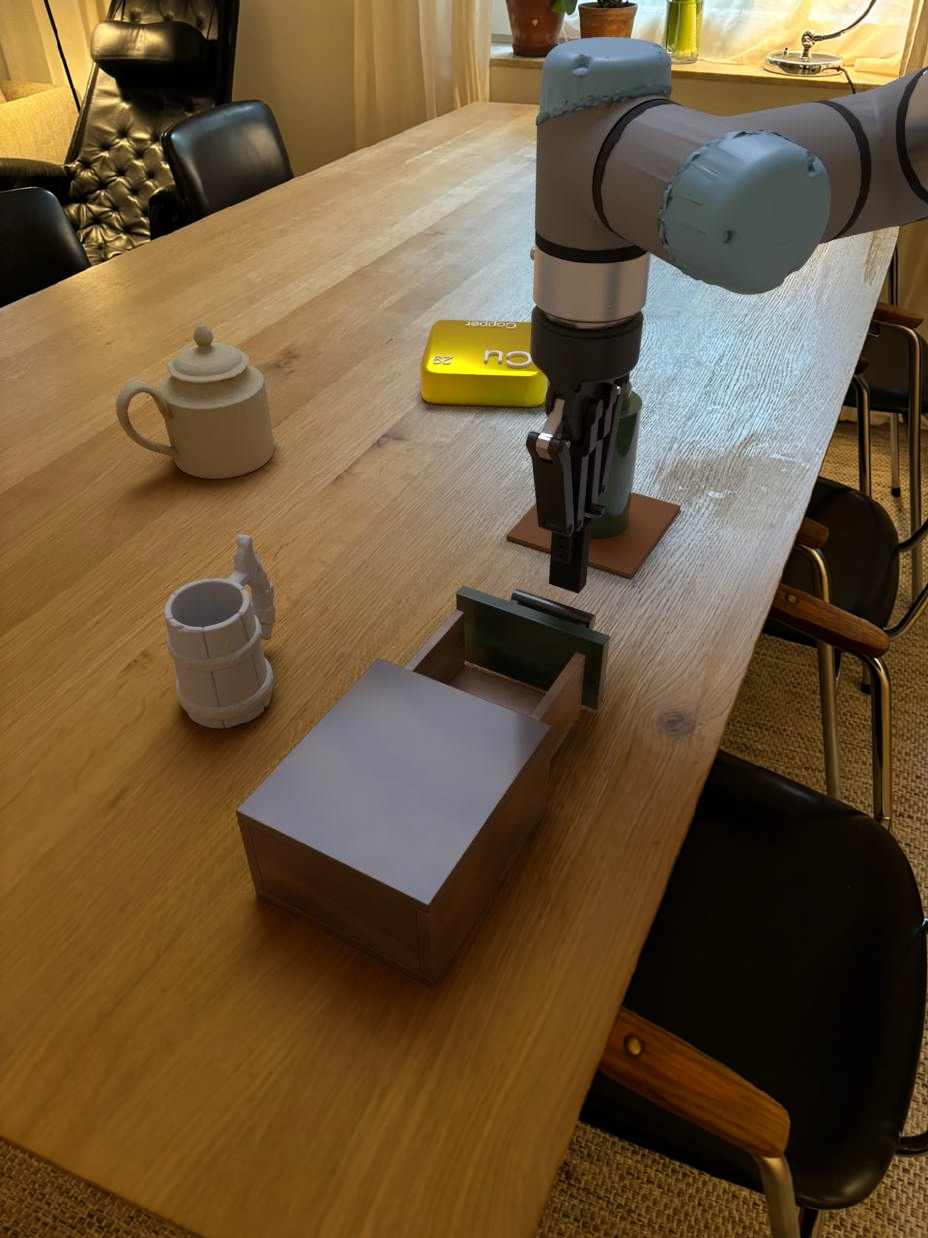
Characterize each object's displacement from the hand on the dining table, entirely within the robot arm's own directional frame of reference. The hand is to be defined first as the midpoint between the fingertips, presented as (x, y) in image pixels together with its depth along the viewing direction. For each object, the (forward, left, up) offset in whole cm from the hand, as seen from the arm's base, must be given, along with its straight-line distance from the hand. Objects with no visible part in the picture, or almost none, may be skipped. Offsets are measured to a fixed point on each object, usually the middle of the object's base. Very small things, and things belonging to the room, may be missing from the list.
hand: (567, 583), depth 81 cm
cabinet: (-4, +25, -6) cm, 26 cm away
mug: (+18, +21, -6) cm, 28 cm away
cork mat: (+8, -16, -6) cm, 19 cm away
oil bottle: (+8, -16, -6) cm, 19 cm away
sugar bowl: (+47, 0, -6) cm, 47 cm away
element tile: (+36, -34, -6) cm, 50 cm away
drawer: (-2, +11, -5) cm, 13 cm away
